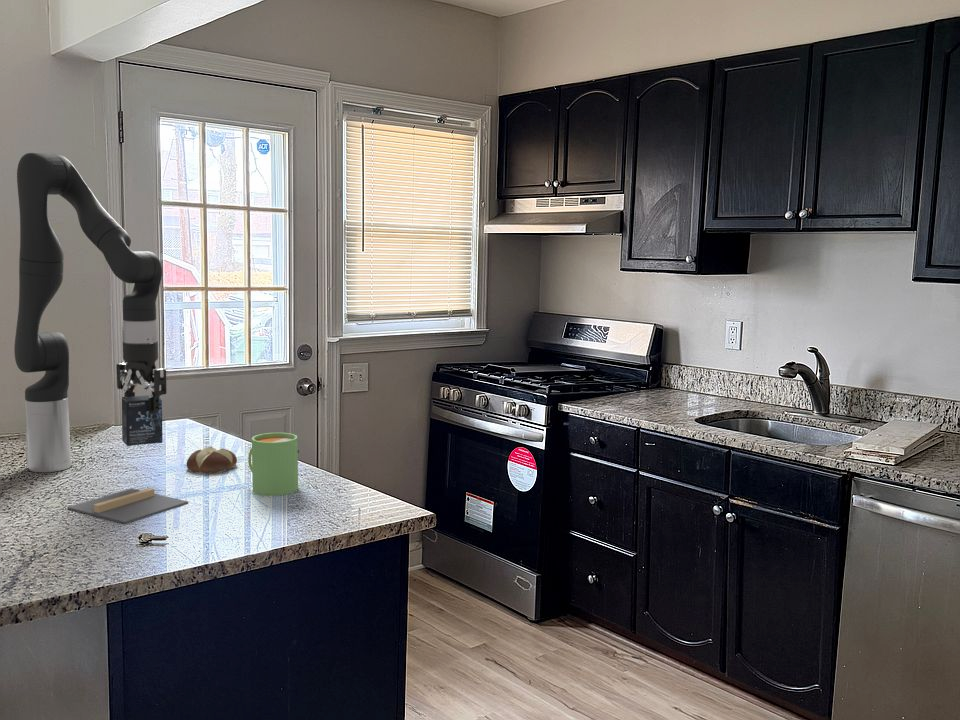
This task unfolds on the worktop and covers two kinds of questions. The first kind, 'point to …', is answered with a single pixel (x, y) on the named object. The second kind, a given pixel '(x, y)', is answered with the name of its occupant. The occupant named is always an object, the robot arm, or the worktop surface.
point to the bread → (211, 460)
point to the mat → (128, 505)
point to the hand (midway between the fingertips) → (142, 410)
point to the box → (140, 421)
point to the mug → (274, 463)
